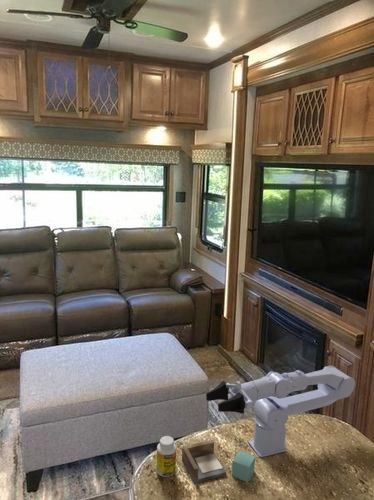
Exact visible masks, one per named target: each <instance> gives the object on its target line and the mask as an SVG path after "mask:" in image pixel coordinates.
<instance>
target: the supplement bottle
mask: <svg viewBox="0 0 374 500" xmlns="http://www.w3.org/2000/svg"><path fill="white" fill-rule="evenodd" d="M176 463H177V445H176V444H175V441H174V438H173V437H172V436H169V435H164V436H162V437H161V438H160V439H159V443H158V444H157V447H156V473H157V474H158V475H159V476H161V477H163V478H169V477H171V476H173V475H174V474H175V472H176V469H177V468H176V466H177V465H176Z"/></svg>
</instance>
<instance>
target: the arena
mask: <svg viewBox="0 0 374 500" xmlns="http://www.w3.org/2000/svg"><path fill="white" fill-rule="evenodd" d="M181 461H182V462H183V465H184V466H185V469H186V471H187V472H188V475H189V476H190V478H191V480H192V482H193V483H194V484H196V483H200V482H201V483H202V482H204V481H209V480H211V479H216V478H221V477H223V476H226V475H227V471H226V469H225V467H224V466H223V465H222V463H221V461H220V459H218V457H217V454H215V441H214V440H213V439H211V440H206V441H201V442H198V443H197V442H196V443H193V444H189V445H184V446H182V448H181Z"/></svg>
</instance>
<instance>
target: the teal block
mask: <svg viewBox="0 0 374 500" xmlns="http://www.w3.org/2000/svg"><path fill="white" fill-rule="evenodd" d="M255 465H256V456H254V455H251V454H249V453H247V452H244V451H241V450H238V452H237V453H236V455H235V457H234V458H233V460H232V465H231V476H232V477H234V478H237V479H239V480H241V481H244V482H246V483H249V482H250V479H251V477H252V476H253V474H254V473H255V467H256V466H255Z"/></svg>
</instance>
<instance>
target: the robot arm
mask: <svg viewBox="0 0 374 500" xmlns="http://www.w3.org/2000/svg"><path fill="white" fill-rule="evenodd" d="M312 385H313V386H314V385H315V386H316V385H317V389H314V390H311V391H307V392H306V391H305V392H302V393H299V394H294V395H290V396H288V395H289V394H292V393H293V392H296V391H297V392H299V391H304V390H306V389H307V387H308V386H312ZM355 387H356V381H355V379H354V378H353V377H352V376H349V375H347V374H346V373H344V372H343V371H341V370H340V369H338V368H337V367H336V366H334V365H328V366H324V367H323V369H320V370H315V371H312V372H308V373H304V372H303V371H301V370H299V369H297V370H295V371H292V372H283V373H281V374H280V373H279V372H276V371H275V372H274V370H273V371H269V372H268V373H267V374H266V375H265V376H262V377H261V378H258V379H254V380H251V381H247V382H244V383H241V382H240V381H239V380H237V381H235V383H229V382H226V381H224V380H223V381H221V382H220V383H219V384H218V385H217V386H216V387H214V388H213V389H211V390H210V391H208V392H206V393H205V398H206V401H207V402H210V401H211V402H212V401H218V400H223V401H221V402H219V403H217V411H218V412H219V413H221V412H223V413H228V412H229V413H233V412H234V413H238V414H244V413H245V409H246V410H251V412H253V413H254V428H253V430H254V431H253V438H252V439H249V440H247V442H248V444H249V445H250V447H251V448H252V450H254V452H255V453H256V454H257V456H258V457H259V458H264V457H268V456H272V455H276V454H281V453H284V452H286V451H287V449H286V448H285V446H286V445H285V444H286V437H287V436H286V435H287V433H286V432H287V429H286V424H287V422H288V420H289V417H290V416H293V415H297V414H300V413H304V412H308V411H312V410H316V409H320V408H324V407H328V406H330V405H332V404H333V403H335V402H337V401H338V400H343V399H346V398H349V397H350V396H351V394H352V393H353V391H354V390H355ZM229 394H230V395H231V398H229ZM275 396H277V397H275Z"/></svg>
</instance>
